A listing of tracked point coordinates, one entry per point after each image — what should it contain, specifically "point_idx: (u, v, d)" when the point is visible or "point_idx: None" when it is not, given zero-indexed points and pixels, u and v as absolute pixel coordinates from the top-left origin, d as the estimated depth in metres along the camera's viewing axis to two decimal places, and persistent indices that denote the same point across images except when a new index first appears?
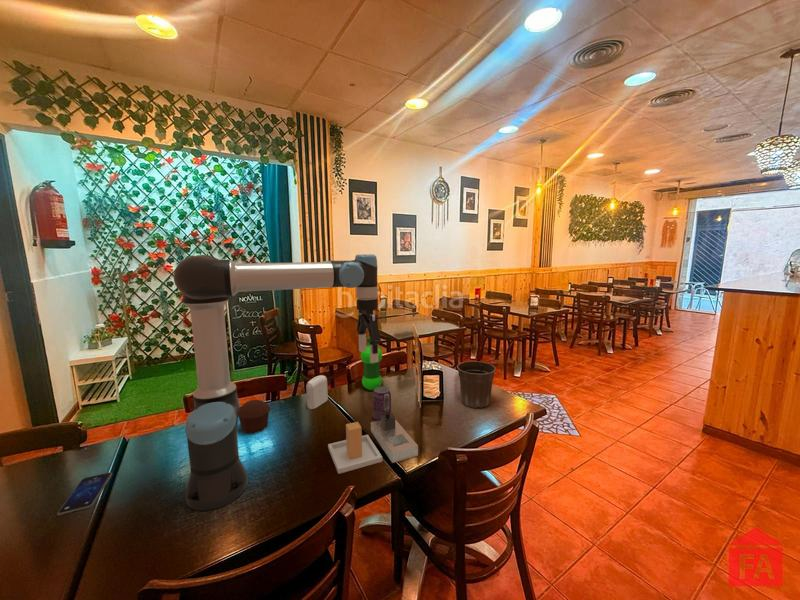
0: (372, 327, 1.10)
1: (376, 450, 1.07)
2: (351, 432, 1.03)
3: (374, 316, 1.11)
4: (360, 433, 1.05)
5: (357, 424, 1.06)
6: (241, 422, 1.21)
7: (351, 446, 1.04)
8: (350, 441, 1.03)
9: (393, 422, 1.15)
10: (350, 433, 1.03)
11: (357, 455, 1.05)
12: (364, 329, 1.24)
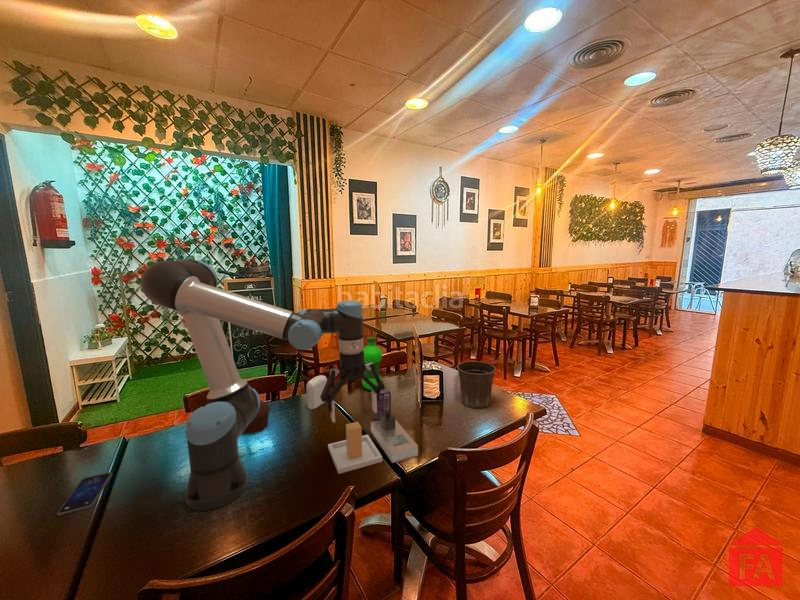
0: (327, 381, 1.01)
1: (376, 450, 1.07)
2: (351, 432, 1.03)
3: (330, 371, 0.99)
4: (360, 433, 1.05)
5: (357, 424, 1.06)
6: None
7: (351, 446, 1.04)
8: (350, 441, 1.03)
9: (393, 422, 1.15)
10: (350, 433, 1.03)
11: (357, 455, 1.05)
12: (371, 387, 1.05)
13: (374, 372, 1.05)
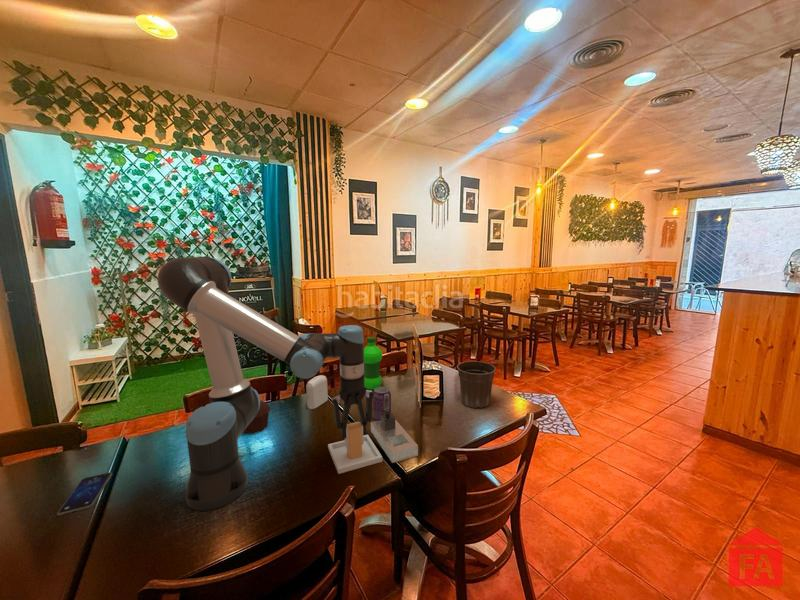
0: (334, 409, 1.03)
1: (376, 450, 1.07)
2: (351, 432, 1.03)
3: (332, 401, 1.01)
4: (360, 433, 1.05)
5: (357, 424, 1.06)
6: None
7: (351, 446, 1.04)
8: (350, 441, 1.03)
9: (393, 422, 1.15)
10: (350, 433, 1.03)
11: (357, 455, 1.05)
12: (360, 416, 1.05)
13: (370, 401, 1.05)
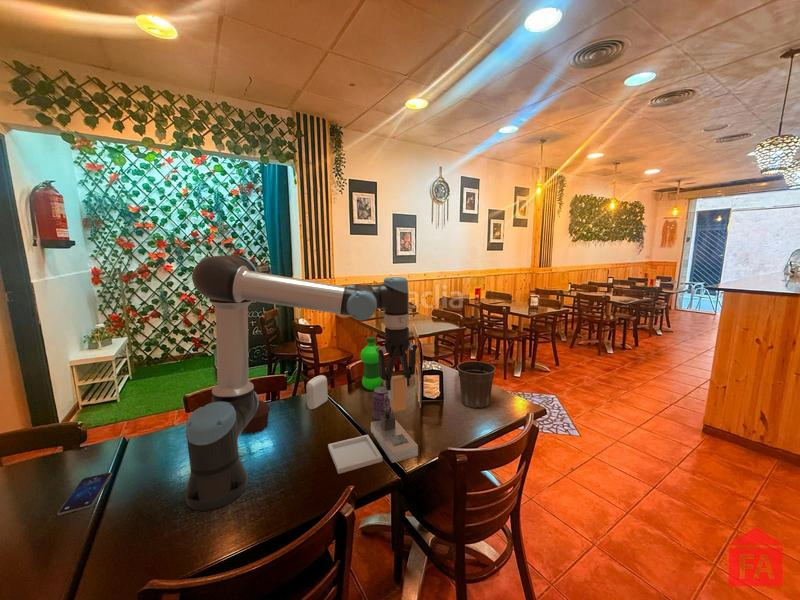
0: (379, 361, 1.03)
1: (376, 450, 1.07)
2: (396, 384, 1.03)
3: (377, 352, 1.01)
4: (404, 385, 1.05)
5: (401, 377, 1.06)
6: None
7: (396, 398, 1.04)
8: (395, 393, 1.04)
9: (393, 422, 1.15)
10: (395, 385, 1.03)
11: (401, 407, 1.05)
12: (404, 369, 1.06)
13: (414, 354, 1.06)
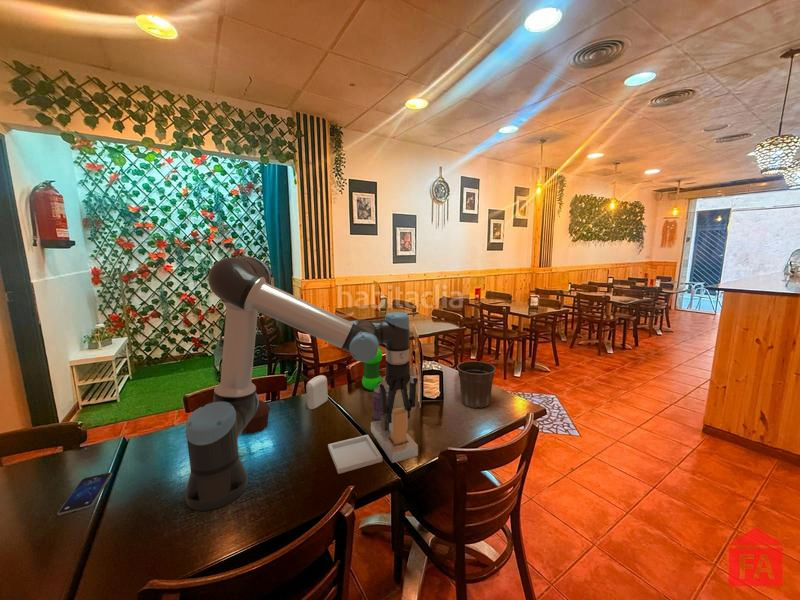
0: (380, 395, 1.05)
1: (376, 450, 1.07)
2: (396, 417, 1.05)
3: (379, 386, 1.03)
4: (405, 418, 1.06)
5: (401, 409, 1.08)
6: None
7: (396, 431, 1.06)
8: (396, 426, 1.05)
9: None
10: (396, 418, 1.05)
11: (402, 440, 1.07)
12: (404, 401, 1.07)
13: (414, 387, 1.07)
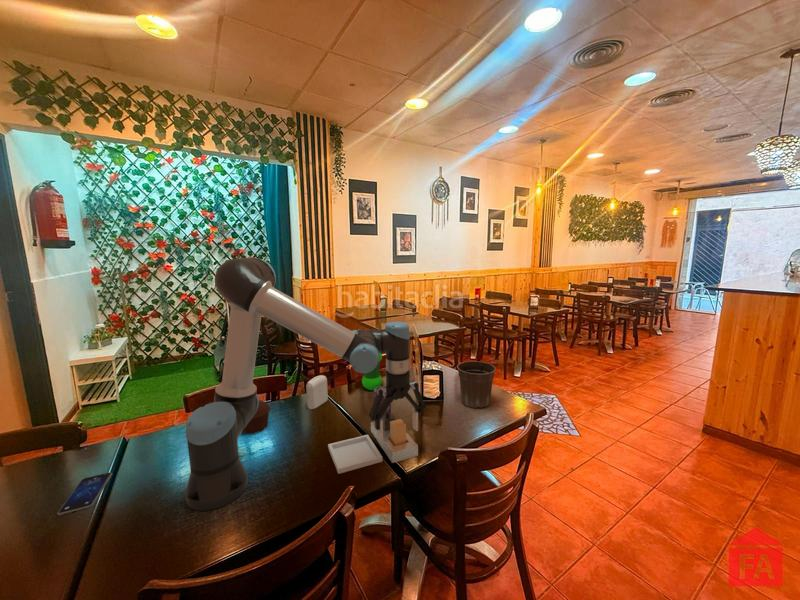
0: (374, 400, 1.04)
1: (376, 450, 1.07)
2: (396, 429, 1.06)
3: (378, 391, 1.03)
4: (405, 430, 1.07)
5: (401, 421, 1.09)
6: None
7: (396, 443, 1.06)
8: (395, 438, 1.06)
9: None
10: (396, 430, 1.06)
11: None
12: (413, 405, 1.09)
13: (418, 391, 1.08)
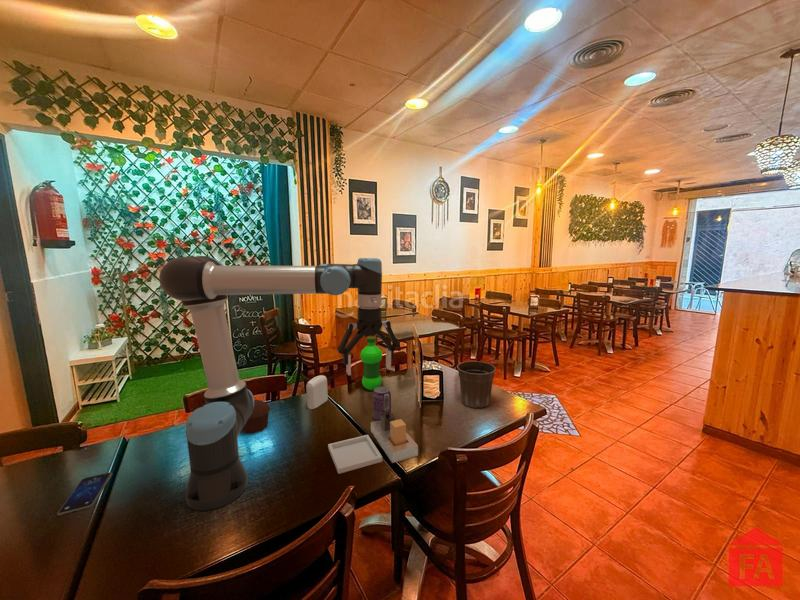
0: (344, 335, 1.04)
1: (376, 450, 1.07)
2: (396, 429, 1.06)
3: (348, 324, 1.02)
4: (405, 430, 1.07)
5: (401, 421, 1.09)
6: None
7: (396, 443, 1.06)
8: (395, 438, 1.06)
9: None
10: (396, 430, 1.06)
11: None
12: (386, 344, 1.08)
13: (390, 329, 1.07)
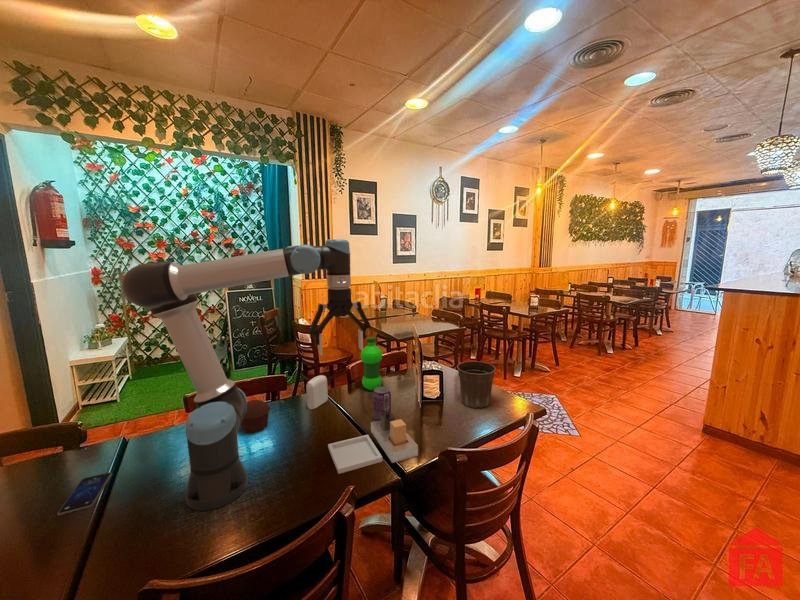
0: (315, 316, 1.05)
1: (376, 450, 1.07)
2: (396, 429, 1.06)
3: (318, 305, 1.04)
4: (405, 430, 1.07)
5: (401, 421, 1.09)
6: None
7: (396, 443, 1.06)
8: (395, 438, 1.06)
9: None
10: (396, 430, 1.06)
11: None
12: (357, 324, 1.10)
13: (361, 310, 1.09)
